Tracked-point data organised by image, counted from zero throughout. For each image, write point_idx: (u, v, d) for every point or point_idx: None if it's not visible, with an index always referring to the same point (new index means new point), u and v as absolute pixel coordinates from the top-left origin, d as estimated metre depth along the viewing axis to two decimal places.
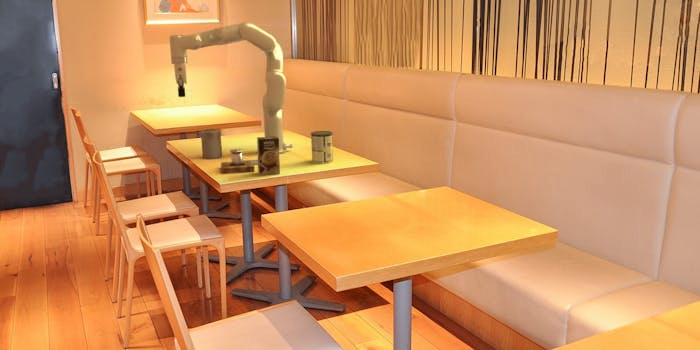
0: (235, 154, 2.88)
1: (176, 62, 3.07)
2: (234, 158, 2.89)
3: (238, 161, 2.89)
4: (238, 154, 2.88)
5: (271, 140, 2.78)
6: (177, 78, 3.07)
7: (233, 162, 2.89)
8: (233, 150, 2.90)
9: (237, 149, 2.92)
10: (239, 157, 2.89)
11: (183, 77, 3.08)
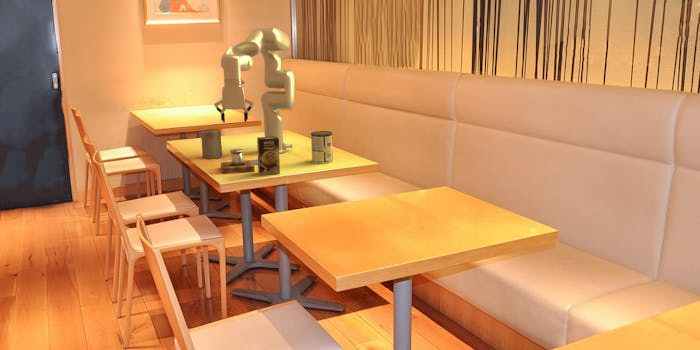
0: (235, 154, 2.88)
1: None
2: (234, 158, 2.89)
3: (238, 161, 2.89)
4: (238, 154, 2.88)
5: (271, 140, 2.78)
6: (245, 101, 2.85)
7: (233, 162, 2.89)
8: (233, 150, 2.90)
9: (237, 149, 2.92)
10: (239, 157, 2.89)
11: None
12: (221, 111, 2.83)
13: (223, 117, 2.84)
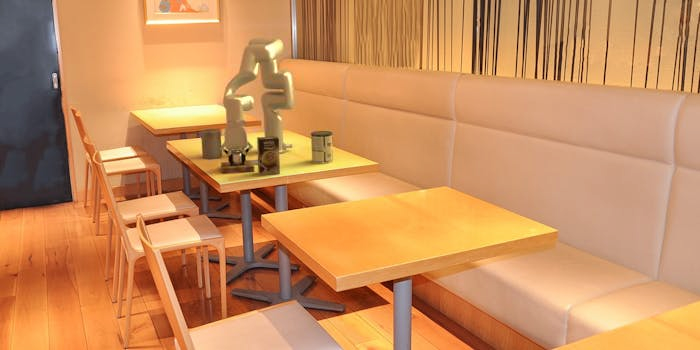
0: (235, 154, 2.88)
1: (243, 125, 2.87)
2: (234, 158, 2.89)
3: (238, 161, 2.89)
4: (238, 154, 2.88)
5: (271, 140, 2.78)
6: None
7: (233, 162, 2.89)
8: (233, 150, 2.90)
9: (237, 149, 2.92)
10: (239, 157, 2.89)
11: None
12: (228, 153, 2.88)
13: (230, 159, 2.89)
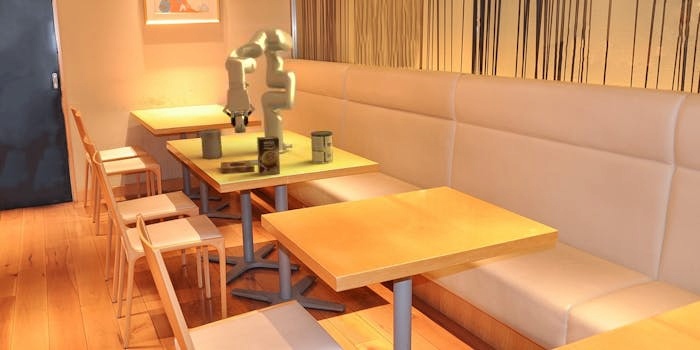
0: (237, 116, 2.89)
1: (245, 87, 2.88)
2: (237, 120, 2.90)
3: (241, 123, 2.90)
4: (240, 116, 2.89)
5: (271, 140, 2.78)
6: None
7: (236, 124, 2.90)
8: (235, 112, 2.91)
9: (239, 112, 2.93)
10: (242, 120, 2.90)
11: None
12: (230, 116, 2.89)
13: (233, 121, 2.90)
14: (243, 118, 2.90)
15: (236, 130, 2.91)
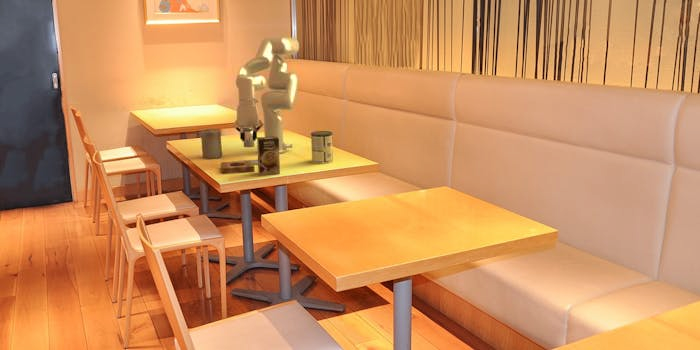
0: (247, 131, 3.00)
1: (254, 103, 2.99)
2: (246, 135, 3.01)
3: (249, 138, 3.01)
4: (250, 131, 3.00)
5: (271, 140, 2.78)
6: None
7: (245, 139, 3.01)
8: (245, 127, 3.02)
9: (249, 127, 3.04)
10: (251, 134, 3.01)
11: None
12: (240, 131, 3.00)
13: (242, 136, 3.01)
14: (252, 133, 3.01)
15: (245, 144, 3.02)
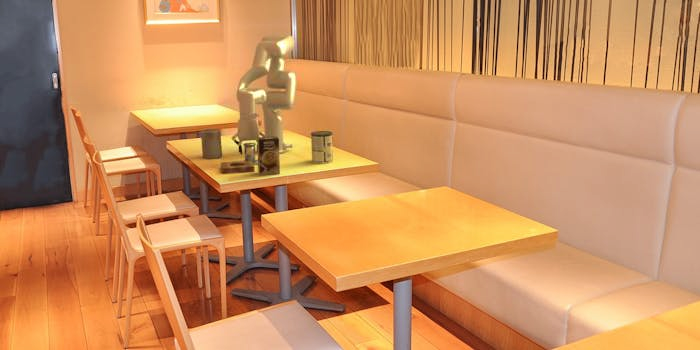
0: (248, 147, 3.02)
1: (255, 118, 3.01)
2: (247, 151, 3.03)
3: (251, 154, 3.03)
4: (251, 147, 3.02)
5: (271, 140, 2.78)
6: (259, 134, 3.03)
7: (246, 155, 3.03)
8: (246, 143, 3.04)
9: None
10: (252, 150, 3.03)
11: None
12: (238, 144, 3.02)
13: (240, 149, 3.02)
14: (253, 149, 3.03)
15: (246, 160, 3.04)
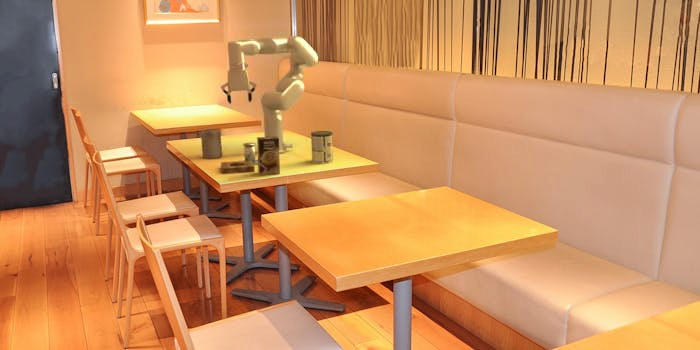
0: (248, 147, 3.02)
1: (244, 68, 3.07)
2: (247, 151, 3.03)
3: (251, 154, 3.03)
4: (251, 147, 3.02)
5: (271, 140, 2.78)
6: (249, 83, 3.09)
7: (246, 155, 3.03)
8: (246, 143, 3.04)
9: None
10: (252, 150, 3.03)
11: None
12: (227, 93, 3.07)
13: (229, 98, 3.08)
14: (253, 149, 3.03)
15: (246, 160, 3.04)
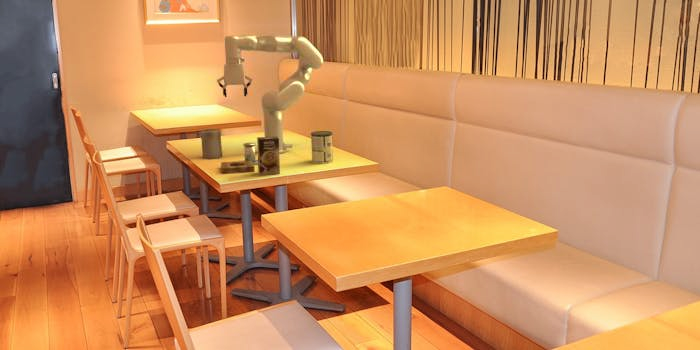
0: (248, 147, 3.02)
1: (241, 62, 3.11)
2: (247, 151, 3.03)
3: (251, 154, 3.03)
4: (251, 147, 3.02)
5: (271, 140, 2.78)
6: (244, 78, 3.13)
7: (246, 155, 3.03)
8: (246, 143, 3.04)
9: None
10: (252, 150, 3.03)
11: None
12: (223, 86, 3.12)
13: (225, 92, 3.12)
14: (253, 149, 3.03)
15: (246, 160, 3.04)
